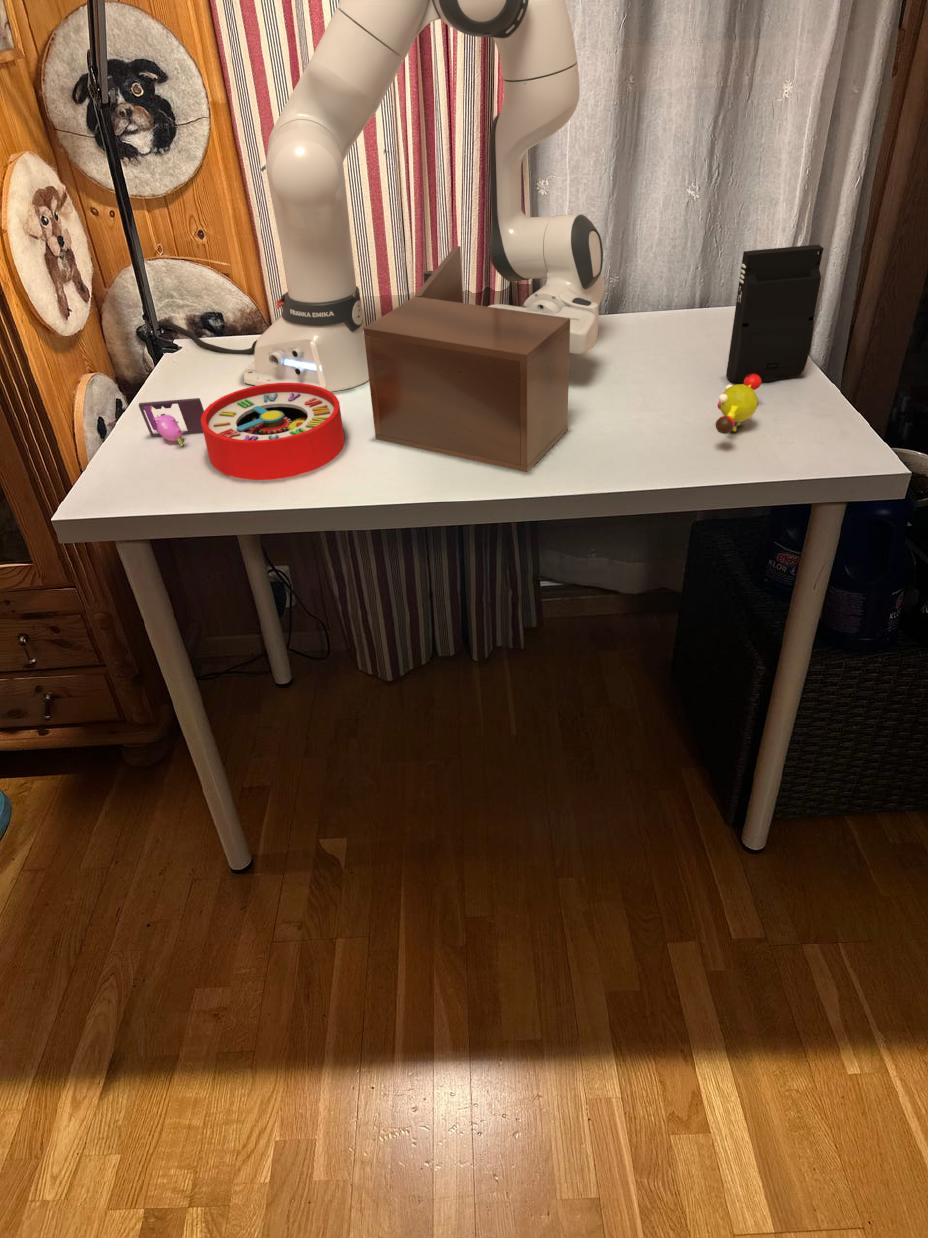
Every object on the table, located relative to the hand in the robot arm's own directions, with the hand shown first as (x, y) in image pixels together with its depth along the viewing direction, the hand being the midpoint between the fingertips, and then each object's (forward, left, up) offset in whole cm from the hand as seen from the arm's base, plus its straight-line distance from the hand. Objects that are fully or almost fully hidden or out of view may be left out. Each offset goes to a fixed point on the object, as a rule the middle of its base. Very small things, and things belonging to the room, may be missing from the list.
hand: (511, 346), depth 142 cm
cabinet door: (-17, +8, -8) cm, 21 cm away
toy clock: (-29, -24, -9) cm, 39 cm away
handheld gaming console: (+38, +16, -9) cm, 42 cm away
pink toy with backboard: (-45, -26, -9) cm, 53 cm away
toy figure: (+35, -3, -9) cm, 36 cm away
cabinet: (-2, -14, -9) cm, 16 cm away
